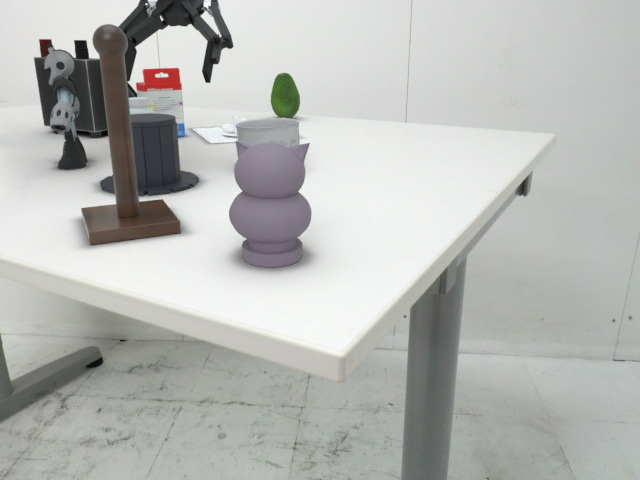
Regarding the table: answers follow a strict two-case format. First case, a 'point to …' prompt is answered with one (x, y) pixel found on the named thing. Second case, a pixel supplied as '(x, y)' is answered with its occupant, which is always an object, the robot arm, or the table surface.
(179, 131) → the ink box
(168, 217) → the stand
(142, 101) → the supplement bottle
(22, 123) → the table surface
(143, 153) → the hat
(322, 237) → the table surface
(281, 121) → the teacup
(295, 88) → the fruit
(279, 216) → the cat figurine
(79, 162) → the robot
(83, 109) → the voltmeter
